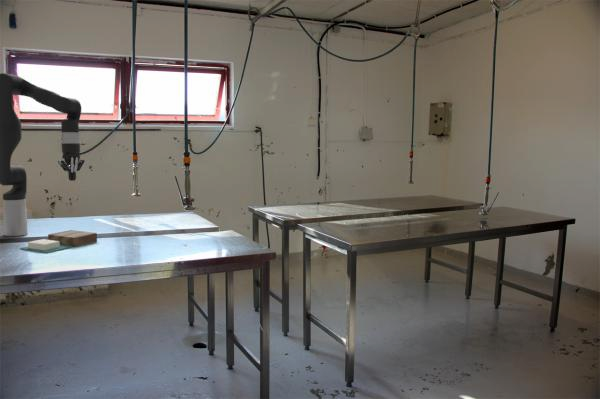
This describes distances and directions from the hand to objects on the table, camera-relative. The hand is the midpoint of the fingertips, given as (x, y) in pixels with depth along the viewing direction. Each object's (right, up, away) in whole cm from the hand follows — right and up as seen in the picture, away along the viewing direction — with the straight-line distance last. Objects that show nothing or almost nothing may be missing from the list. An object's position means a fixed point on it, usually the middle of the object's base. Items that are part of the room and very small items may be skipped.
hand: (72, 180), depth 211 cm
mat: (-2, -29, -18) cm, 34 cm away
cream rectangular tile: (-3, -26, -19) cm, 33 cm away
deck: (+3, -28, -6) cm, 29 cm away
